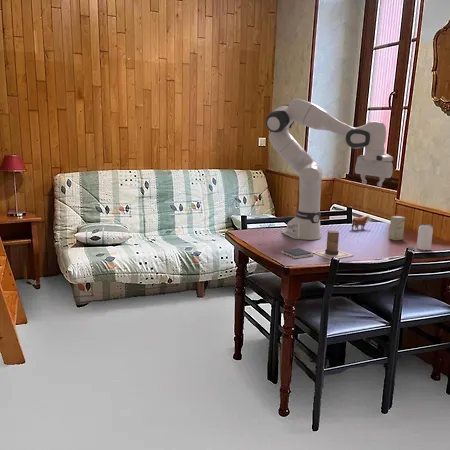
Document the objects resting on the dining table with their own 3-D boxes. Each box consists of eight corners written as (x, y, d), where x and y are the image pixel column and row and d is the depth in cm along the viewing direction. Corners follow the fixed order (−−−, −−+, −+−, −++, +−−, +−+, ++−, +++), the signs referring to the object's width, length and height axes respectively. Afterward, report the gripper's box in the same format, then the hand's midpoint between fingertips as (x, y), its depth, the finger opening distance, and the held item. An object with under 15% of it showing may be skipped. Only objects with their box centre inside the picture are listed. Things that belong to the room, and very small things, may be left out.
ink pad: (281, 253, 220) (281, 250, 220) (298, 250, 225) (298, 247, 225) (295, 259, 211) (295, 255, 211) (313, 256, 217) (313, 252, 216)
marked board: (310, 252, 222) (310, 251, 222) (332, 248, 230) (332, 247, 229) (331, 260, 211) (331, 259, 211) (353, 256, 218) (353, 255, 218)
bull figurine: (371, 229, 273) (373, 215, 272) (354, 231, 268) (355, 217, 266) (366, 227, 277) (367, 214, 275) (348, 229, 271) (349, 215, 270)
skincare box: (394, 240, 248) (396, 218, 246) (388, 238, 252) (390, 216, 250) (403, 239, 251) (405, 217, 248) (397, 237, 255) (399, 215, 252)
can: (416, 249, 231) (419, 226, 228) (416, 246, 237) (418, 223, 234) (430, 251, 229) (433, 227, 226) (430, 248, 235) (433, 224, 232)
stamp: (324, 251, 223) (325, 229, 221) (337, 251, 223) (338, 230, 221) (326, 254, 217) (327, 232, 215) (339, 255, 217) (341, 233, 215)
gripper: (353, 154, 230) (350, 182, 233) (386, 158, 213) (383, 188, 216) (362, 154, 234) (360, 182, 237) (396, 157, 217) (393, 187, 220)
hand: (371, 185), depth 226 cm, fingers open, 8 cm apart
